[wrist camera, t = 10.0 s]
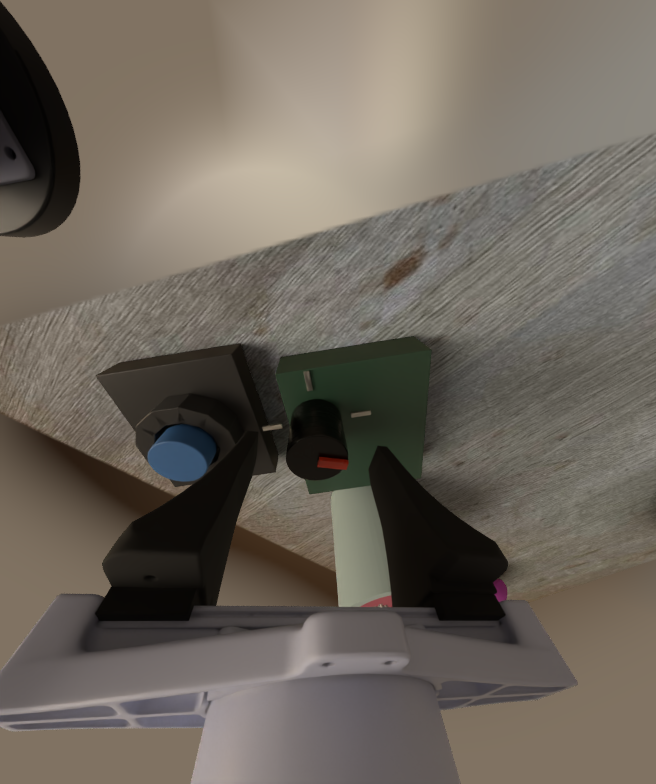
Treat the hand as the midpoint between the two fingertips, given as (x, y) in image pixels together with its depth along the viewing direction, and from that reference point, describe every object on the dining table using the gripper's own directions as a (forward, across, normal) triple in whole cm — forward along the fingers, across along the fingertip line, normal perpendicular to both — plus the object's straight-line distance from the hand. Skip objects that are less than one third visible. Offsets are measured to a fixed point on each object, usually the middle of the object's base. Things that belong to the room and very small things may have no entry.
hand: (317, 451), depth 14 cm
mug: (+6, -10, +13) cm, 18 cm away
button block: (+6, +8, +3) cm, 11 cm away
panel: (+6, -4, +1) cm, 7 cm away
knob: (+3, 0, 0) cm, 3 cm away
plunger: (+3, +9, +3) cm, 9 cm away
